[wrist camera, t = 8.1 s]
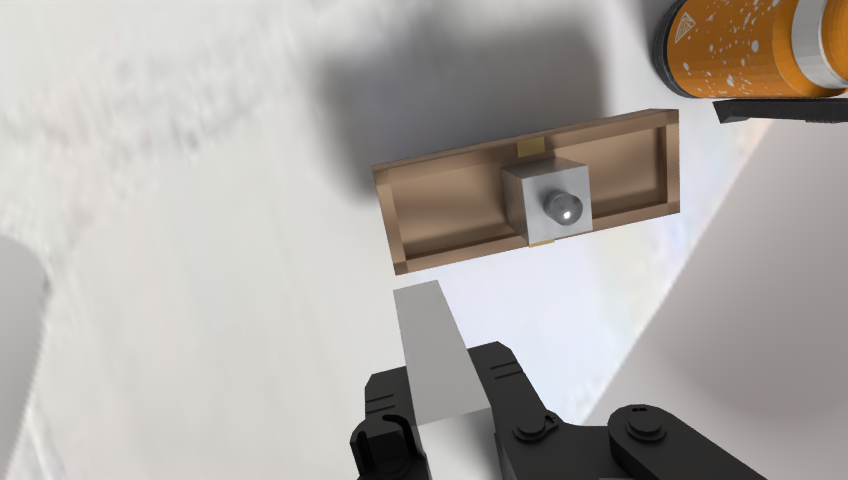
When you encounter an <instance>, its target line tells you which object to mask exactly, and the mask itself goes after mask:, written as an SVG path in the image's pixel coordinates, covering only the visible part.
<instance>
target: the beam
mask: <svg viewBox="0 0 848 480" xmlns="http://www.w3.org/2000/svg"><path fill="white" fill-rule="evenodd" d="M556 156H558V157H561V158H565V159H568V160H572V161H575V162H579V163H582V164H586V165H588V172H589V185H590V199H591V212H592V226H593V230H591V231H586V232H582V233H577V234H573V235H568V236H564V237H559V238H555V239H550V240H546V241H541V242H537V243H532V244H529V243H528V242H527V241H525V240H524V239H523V238H522V237H521V236H520V235H518V234H517V233H516V232H515V231H514V230H513V229H511V228H510V227H509V226H508V225H507V219H506V211H505V204H504V196H503V189H502V181H501V174H500V168H504V167H509V166H514V165H518V164H523V163H528V162H533V161H537V160H542V159H547V158H552V157H556ZM372 170H373V175H374V180H375V184H376V189H377V193H378V198H379V202H380V207H381V211H382V216H383V220H384V225H385V229H386V234H387V239H388V243H389V248H390V252H391V257H392V261H393V266H394V270H395V275H396V276H397V275H401V274H406V273H410V272H415V271H419V270H424V269H428V268H433V267H437V266H442V265H446V264H451V263H455V262H460V261H464V260H469V259H473V258H478V257H482V256H487V255H491V254H496V253H500V252H505V251H509V250H514V249H518V248H523V247H527V246H529V248H530V247H534V246H539V245H543V244H548V243H552V242H554V240H559V239H563V238H568V237H572V236H577V235H581V234H586V233H590V232H595V231H599V230H604V229H608V228H613V227H617V226H622V225H626V224H630V223H635V222H639V221H644V220H648V219H653V218H657V217H662V216H666V215H671V214H675V213H680V175H679V109H646V110H641V111H636V112H631V113H627V114H622V115H617V116H612V117H607V118H602V119H597V120H593V121H588V122H583V123H578V124H573V125H568V126H563V127H558V128H554V129H549V130H544V131H539V132H534V133H529V134H524V135H520V136H515V137H510V138H505V139H500V140H495V141H490V142H485V143H481V144H476V145H471V146H466V147H461V148H456V149H451V150H446V151H442V152H437V153H432V154H427V155H422V156H417V157H412V158H408V159H403V160H398V161H393V162H388V163H383V164H378V165H373V166H372Z"/></svg>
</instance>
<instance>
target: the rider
mask: <svg viewBox="0 0 848 480" xmlns="http://www.w3.org/2000/svg"><path fill="white" fill-rule="evenodd" d="M500 174H501V181H502V189H503V196H504V204H505V211H506V219H507V225H508V226H509V227H510V228H511V229H513V230H514V231H515V232H516V233H517V234H518V235H520V236H521V237H522V238H523V239H524V240H525V241H527V242H528V243H529V244H532V243H537V242H541V241H546V240H550V239H555V238H559V237H564V236H568V235H573V234H577V233H582V232H586V231H591V230H593V226H592V212H591V199H590V185H589V172H588V165H586V164H582V163H579V162H575V161H572V160H568V159H565V158H561V157H558V156H556V157H552V158H547V159H542V160H537V161H533V162H528V163H523V164H518V165H514V166H509V167H504V168H500Z"/></svg>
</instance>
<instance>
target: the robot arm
mask: <svg viewBox="0 0 848 480" xmlns="http://www.w3.org/2000/svg"><path fill="white" fill-rule="evenodd" d="M393 293H394V298H395V304H396V310H397V315H398V321H399V327H400V333H401V338H402V344H403V350H404V355H405V361H406V366H403V367H399V368H395V369H391V370H387V371H383V372H379V373H376V374H372V375H371V377H370V379H369V381H368V383H367V385H366V386H365V414H366V415H365V420H364V421H362V422H361V423H360V424H359V425H358V426H357V427H356V429H355V430H354V431H353V433H352V436H351V439H350V446H351V449H352V452H353V456H354V459H355V462H356V465H357V468H358V471H359V474H360V476H359V477H358V479H357V480H767V479H766V478H764V477H763V476H761V475H760V474H758V473H757V472H756V471H754V470H753V469H751V468H750V467H748V466H747V465H745V464H744V463H742V462H741V461H739V460H738V459H736V458H735V457H734V456H732V455H731V454H729V453H728V452H726V451H725V450H723V449H722V448H720V447H719V446H717V445H716V444H715V443H713V442H712V441H710V440H709V439H707V438H706V437H704V436H703V435H701V434H700V433H699V432H697V431H696V430H694V429H693V428H691V427H690V426H688V425H687V424H685V423H684V422H683V421H681V420H680V419H678V418H677V417H675V416H674V415H672V414H671V413H668V412H667V411H664V410H663V409H661V408H658V407H654V406H650V405H645V404H639V405H628V406H625V407H621V408H619V409H617V410H616V411H615V412H614V413H612V414H611V416H610V418H609V421H608V423H607V424H608V426H578V425H573V424H569V423H565V422H563V420H562V419H561V418H560V417H559V416H558V415H557V414H556V413H554V412H552V411H549V410H547V409H546V408H545V406H544V405H543V403H542V401H541V399H540V398H539V396H538V394H537V393H536V391H535V389H534V388H533V386H532V384H531V383H530V381H529V379H528V378H527V376H526V374H525V373H524V372H523V369H522V368H521V366H520V364H519V363H518V361H517V359H516V357H515V356H514V354H513V352H512V351H511V349H509V348H508V347H506V346H505V345H503V344H501V343H500V342H498V341H496V342H492V343H488V344H484V345H480V346H476V347H473V348H469V349H466V346H465V344H464V342H463V339H462V337H461V335H460V332H459V330H458V328H457V325H456V323H455V320H454V318H453V316H452V313H451V311H450V309H449V306H448V304H447V302H446V299H445V297H444V294H443V292H442V290H441V287H440V285H439V283H438V280H434V281H430V282H426V283H421V284H417V285H413V286H409V287H405V288H401V289H397V290H393Z"/></svg>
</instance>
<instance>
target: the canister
mask: <svg viewBox="0 0 848 480" xmlns="http://www.w3.org/2000/svg"><path fill="white" fill-rule="evenodd" d="M655 62H656V67H657V70H658V73H659V75H660V77H661V79H662V81H663V82H664V83H665V85H666V86H667V87H668V88H669V89H670V90H671V91H673V92H674V93H676V94H678V95H680V96H683V97H686V98H756V99H730V100H723V101H715V102H713V105H714V108H715V110H716V113H717V116H718V118H719V121H720V124H722V123H729V122H737V121H744V120H747V119H749V118H771V119H793V120H794V119H795V120H806V122H813V123H815V122H818V123H841V122H848V98H827V97H833V96H838V95H840V94H843V93H846V92H848V0H677V1H676V3H675V4H674V5H673V6H672V7H671V8H670V9H669V11H668V12H667V14H666V15H665V17H664V19H663V20H662V22H661V25H660V27H659V30H658V33H657V37H656V41H655Z"/></svg>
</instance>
